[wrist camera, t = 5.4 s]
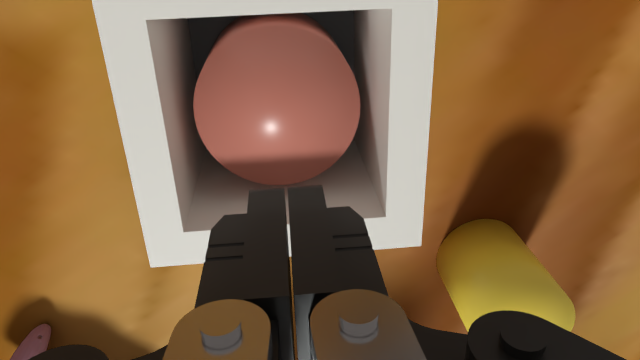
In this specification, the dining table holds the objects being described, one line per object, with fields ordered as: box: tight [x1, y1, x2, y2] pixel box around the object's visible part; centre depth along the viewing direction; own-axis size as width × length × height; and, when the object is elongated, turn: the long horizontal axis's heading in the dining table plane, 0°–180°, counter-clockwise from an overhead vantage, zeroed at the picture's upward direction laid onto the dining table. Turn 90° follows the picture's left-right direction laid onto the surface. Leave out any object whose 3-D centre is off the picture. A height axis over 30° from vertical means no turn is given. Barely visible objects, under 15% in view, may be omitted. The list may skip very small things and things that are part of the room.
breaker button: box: [193, 13, 360, 185], centre depth 19 cm, size 6×6×4 cm
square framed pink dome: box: [92, 0, 438, 267], centre depth 20 cm, size 12×15×9 cm
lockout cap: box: [436, 219, 575, 332], centre depth 27 cm, size 5×5×6 cm
